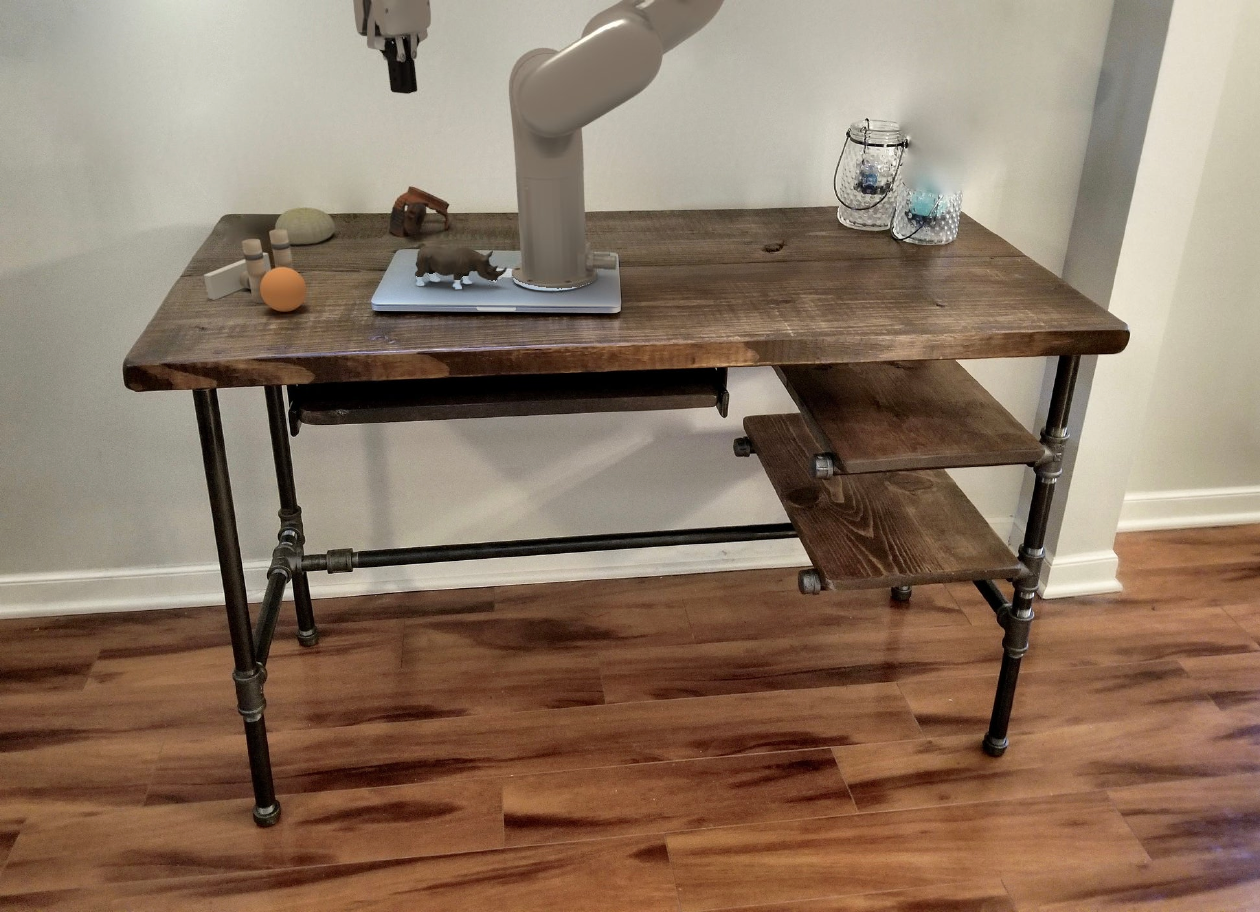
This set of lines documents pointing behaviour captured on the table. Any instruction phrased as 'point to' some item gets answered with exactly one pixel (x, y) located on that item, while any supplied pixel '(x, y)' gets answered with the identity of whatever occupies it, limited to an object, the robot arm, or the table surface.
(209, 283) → the rail
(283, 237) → the right pin
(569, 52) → the robot arm
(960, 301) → the table surface
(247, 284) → the front pin
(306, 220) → the sea urchin shell
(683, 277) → the table surface
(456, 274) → the rhino figurine
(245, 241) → the left pin
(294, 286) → the ball
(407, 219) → the rust brown arched piece
